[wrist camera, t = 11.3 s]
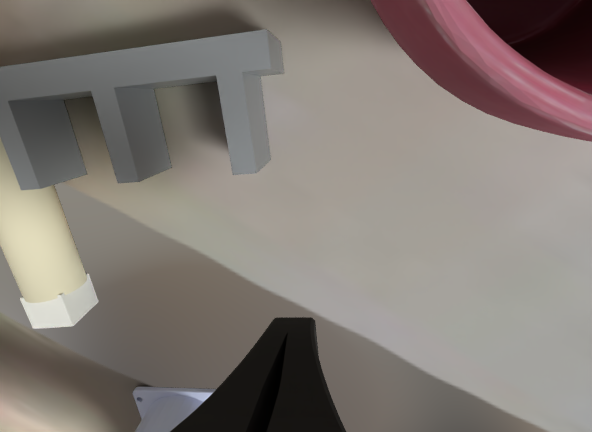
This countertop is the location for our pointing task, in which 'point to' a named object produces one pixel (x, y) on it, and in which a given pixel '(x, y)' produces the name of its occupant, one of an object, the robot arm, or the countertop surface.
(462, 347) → the countertop surface
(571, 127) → the plant pot
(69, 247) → the cream cylinder column
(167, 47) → the grey comb rack
